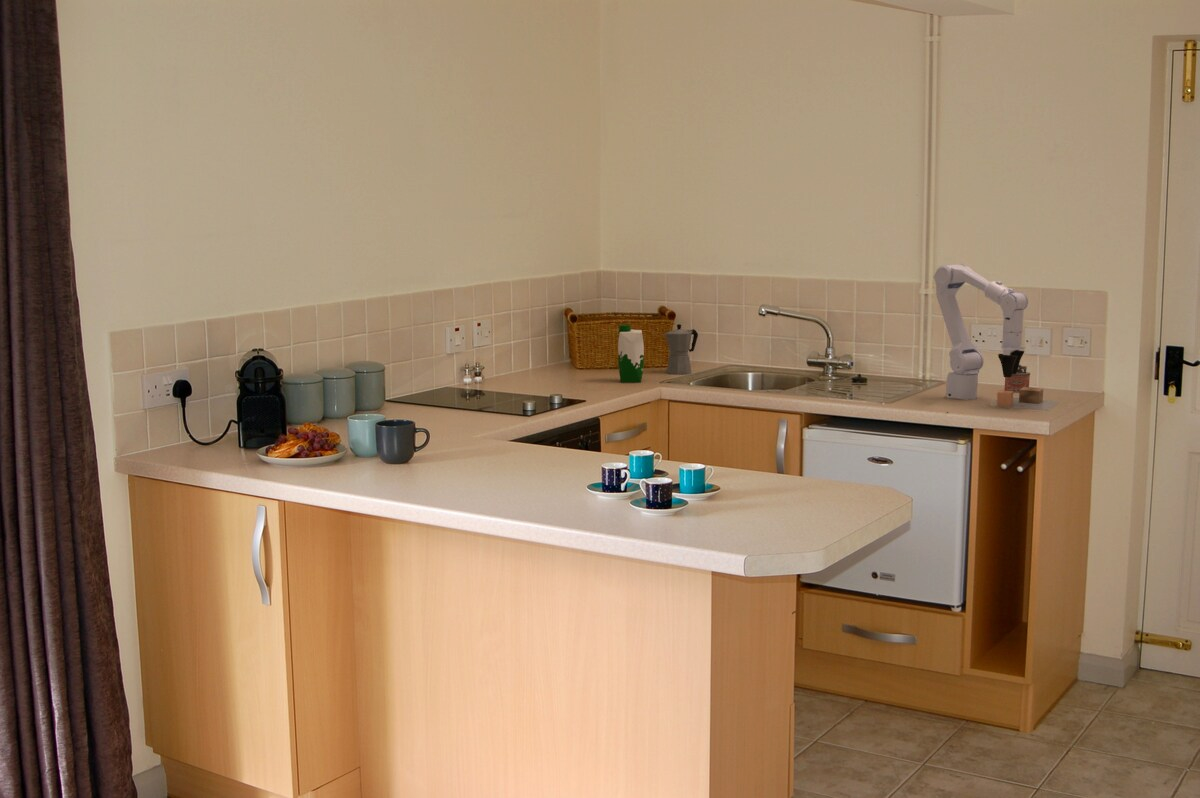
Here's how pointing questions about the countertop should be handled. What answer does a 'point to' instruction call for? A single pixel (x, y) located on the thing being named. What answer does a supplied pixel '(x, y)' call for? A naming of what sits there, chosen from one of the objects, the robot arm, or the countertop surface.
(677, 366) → the coffeepot
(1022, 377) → the lighter
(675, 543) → the countertop surface
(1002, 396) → the top brick
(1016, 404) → the baseplate
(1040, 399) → the base brick
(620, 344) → the milk carton
